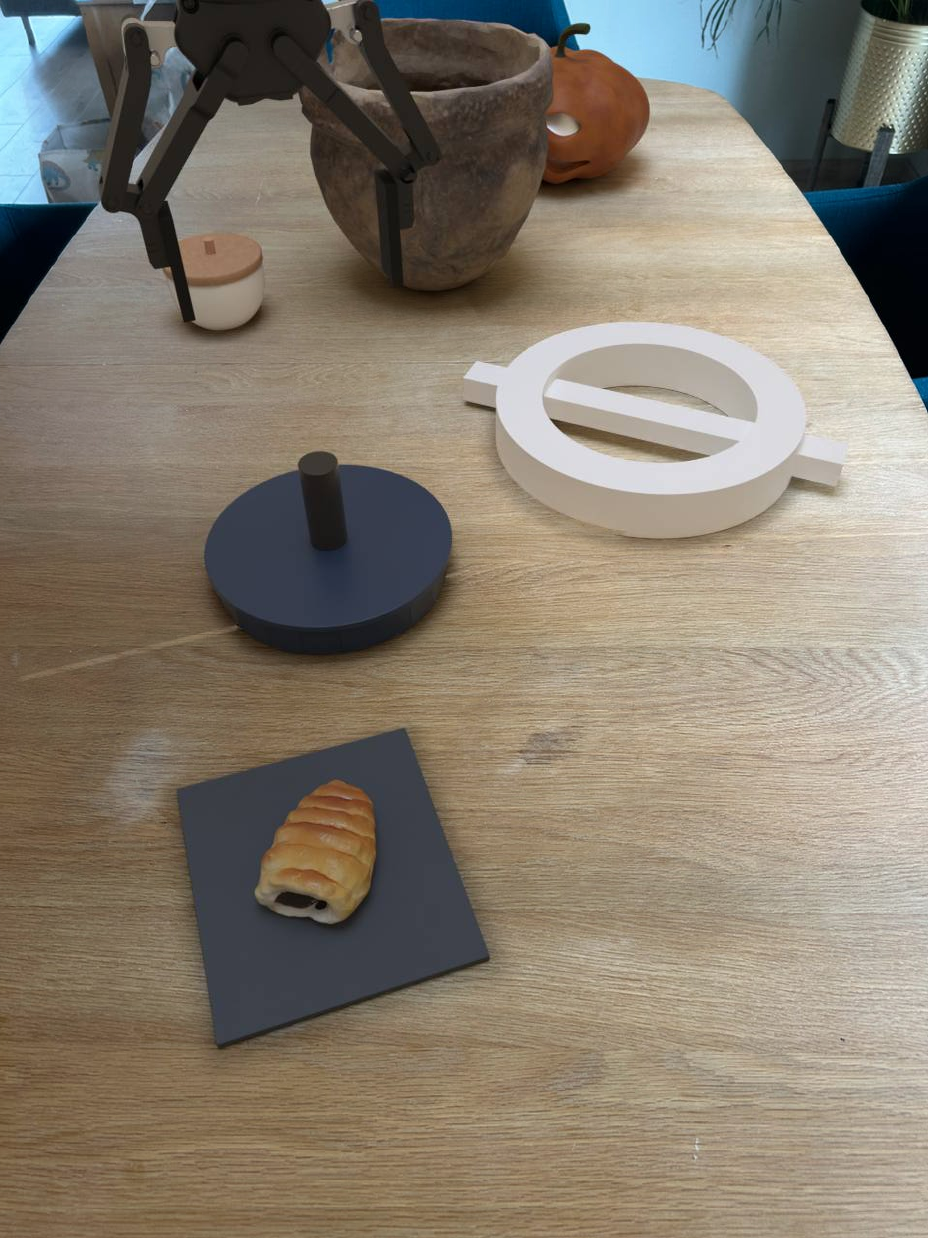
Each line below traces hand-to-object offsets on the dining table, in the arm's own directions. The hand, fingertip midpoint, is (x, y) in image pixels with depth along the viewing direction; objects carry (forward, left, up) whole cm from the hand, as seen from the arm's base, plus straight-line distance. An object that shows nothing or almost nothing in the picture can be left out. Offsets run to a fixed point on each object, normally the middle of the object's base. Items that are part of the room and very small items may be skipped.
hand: (292, 294), depth 65 cm
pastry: (+27, -7, -24) cm, 37 cm away
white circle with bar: (-8, +32, -25) cm, 41 cm away
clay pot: (-46, +23, -25) cm, 57 cm away
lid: (0, 0, -22) cm, 22 cm away
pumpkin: (-72, +49, -25) cm, 91 cm away
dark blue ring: (0, 0, -25) cm, 25 cm away
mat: (+27, -7, -25) cm, 37 cm away
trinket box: (-45, -2, -25) cm, 51 cm away
